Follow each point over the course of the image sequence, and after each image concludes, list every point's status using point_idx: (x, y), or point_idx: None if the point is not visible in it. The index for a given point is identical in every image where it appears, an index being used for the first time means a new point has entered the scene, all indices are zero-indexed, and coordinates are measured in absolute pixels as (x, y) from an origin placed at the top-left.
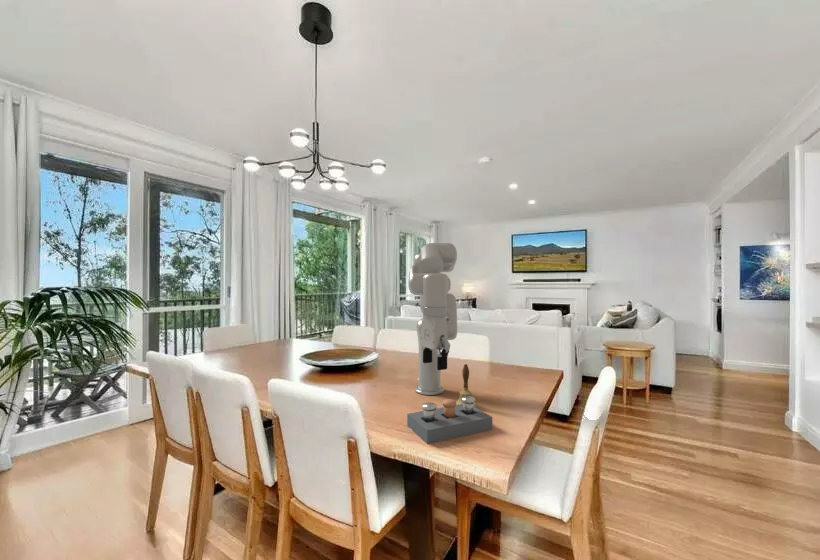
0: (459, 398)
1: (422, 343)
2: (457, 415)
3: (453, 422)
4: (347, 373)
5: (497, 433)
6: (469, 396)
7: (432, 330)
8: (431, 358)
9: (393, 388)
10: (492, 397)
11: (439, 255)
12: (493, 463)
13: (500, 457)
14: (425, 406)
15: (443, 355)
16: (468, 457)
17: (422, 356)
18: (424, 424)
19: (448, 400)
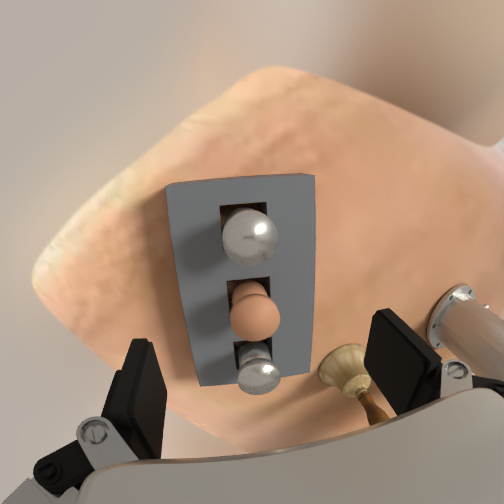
0: (358, 364)
1: (465, 412)
2: None
3: (193, 286)
4: None
5: (177, 365)
6: (271, 387)
7: None
8: (376, 378)
9: (493, 242)
10: (349, 418)
11: None
12: (59, 288)
13: (77, 313)
14: (238, 217)
15: (80, 445)
16: (85, 253)
17: None
18: (210, 194)
19: (265, 321)
